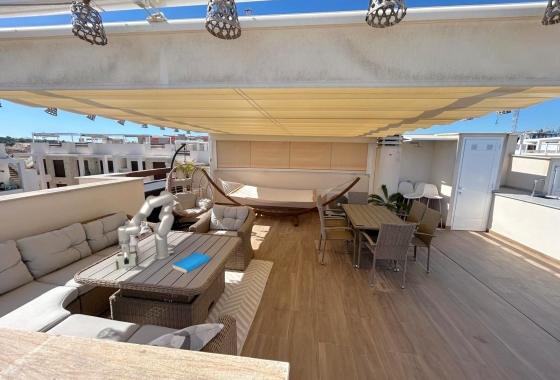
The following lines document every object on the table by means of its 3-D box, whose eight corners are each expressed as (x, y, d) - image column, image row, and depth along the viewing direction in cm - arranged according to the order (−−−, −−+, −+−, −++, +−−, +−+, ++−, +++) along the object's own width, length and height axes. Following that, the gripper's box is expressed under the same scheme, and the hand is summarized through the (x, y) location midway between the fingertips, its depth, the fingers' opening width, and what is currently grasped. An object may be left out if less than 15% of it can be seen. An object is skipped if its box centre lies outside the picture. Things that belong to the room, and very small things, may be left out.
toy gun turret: (144, 250, 212) (142, 232, 209) (140, 257, 200) (139, 238, 196) (129, 252, 208) (127, 234, 205) (125, 258, 196) (123, 239, 192)
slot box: (137, 258, 197) (136, 250, 196) (137, 265, 185) (136, 257, 184) (118, 262, 190) (117, 254, 189) (116, 269, 178) (115, 261, 177)
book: (171, 264, 182) (195, 251, 204) (172, 269, 183) (195, 256, 205) (186, 269, 174) (209, 255, 196) (187, 274, 175) (210, 260, 197)
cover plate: (136, 264, 187) (135, 253, 186) (136, 265, 186) (135, 254, 184) (117, 268, 181) (116, 256, 179) (117, 269, 179) (116, 257, 177)
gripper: (130, 244, 174) (132, 265, 177) (130, 236, 188) (132, 256, 192) (118, 246, 170) (120, 268, 173) (119, 238, 185) (122, 258, 188)
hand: (127, 262), depth 182 cm, fingers open, 5 cm apart
